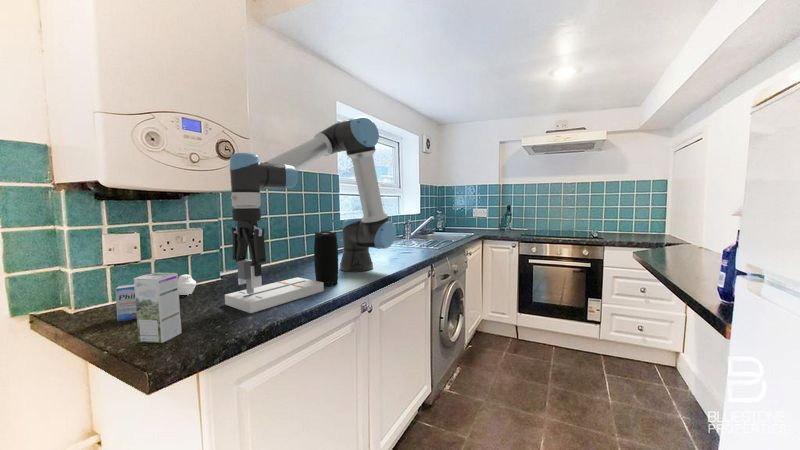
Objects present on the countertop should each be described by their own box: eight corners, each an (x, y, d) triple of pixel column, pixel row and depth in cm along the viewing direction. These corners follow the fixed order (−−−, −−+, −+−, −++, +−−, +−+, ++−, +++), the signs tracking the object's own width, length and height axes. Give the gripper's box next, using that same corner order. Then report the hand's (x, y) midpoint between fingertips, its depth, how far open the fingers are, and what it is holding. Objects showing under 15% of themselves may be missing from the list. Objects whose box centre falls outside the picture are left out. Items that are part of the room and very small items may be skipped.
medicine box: (116, 322, 80) (114, 289, 79) (120, 316, 84) (118, 285, 83) (155, 315, 84) (153, 284, 84) (157, 311, 88) (155, 280, 88)
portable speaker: (315, 288, 110) (313, 233, 109) (315, 281, 119) (313, 231, 118) (339, 286, 112) (338, 232, 111) (338, 280, 121) (336, 230, 120)
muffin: (197, 295, 103) (196, 274, 103) (174, 298, 100) (173, 277, 99) (196, 290, 108) (194, 271, 108) (174, 294, 105) (173, 273, 104)
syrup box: (182, 333, 73) (179, 271, 72) (161, 344, 67) (156, 277, 66) (160, 332, 73) (156, 271, 72) (136, 343, 67) (132, 277, 66)
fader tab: (255, 290, 95) (253, 258, 95) (261, 291, 93) (260, 259, 93) (238, 294, 91) (237, 260, 91) (245, 296, 89) (243, 262, 89)
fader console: (297, 285, 115) (297, 276, 114) (323, 290, 107) (323, 281, 106) (225, 304, 93) (224, 294, 93) (250, 313, 85) (250, 302, 85)
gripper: (216, 207, 93) (220, 283, 95) (252, 207, 82) (256, 293, 84) (241, 207, 99) (244, 278, 101) (278, 207, 88) (280, 287, 90)
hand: (249, 285), depth 92 cm, fingers open, 6 cm apart
